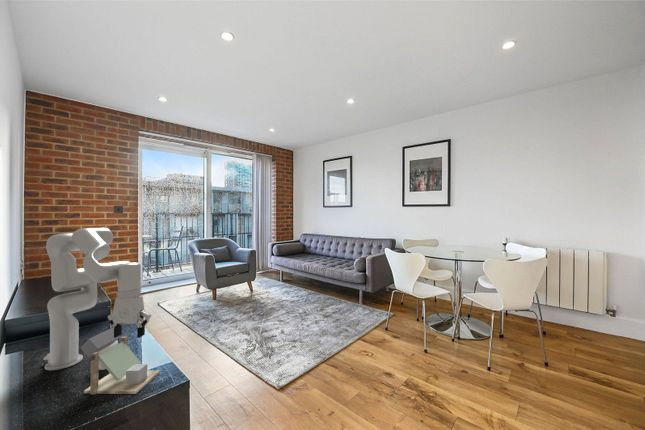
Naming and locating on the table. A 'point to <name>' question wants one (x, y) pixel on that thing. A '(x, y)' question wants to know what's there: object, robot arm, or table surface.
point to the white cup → (101, 366)
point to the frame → (109, 383)
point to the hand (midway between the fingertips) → (129, 336)
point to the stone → (136, 374)
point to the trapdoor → (111, 353)
